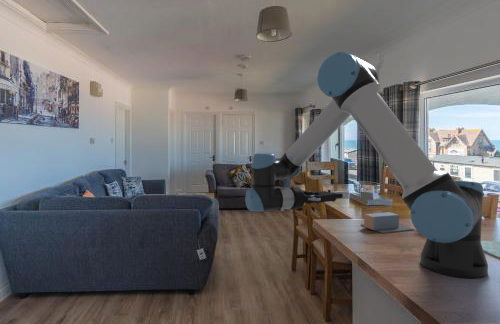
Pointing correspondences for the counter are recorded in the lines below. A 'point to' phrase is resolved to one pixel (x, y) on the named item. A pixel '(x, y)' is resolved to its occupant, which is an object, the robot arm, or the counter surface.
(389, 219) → the slate block
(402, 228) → the mat
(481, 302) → the counter surface
